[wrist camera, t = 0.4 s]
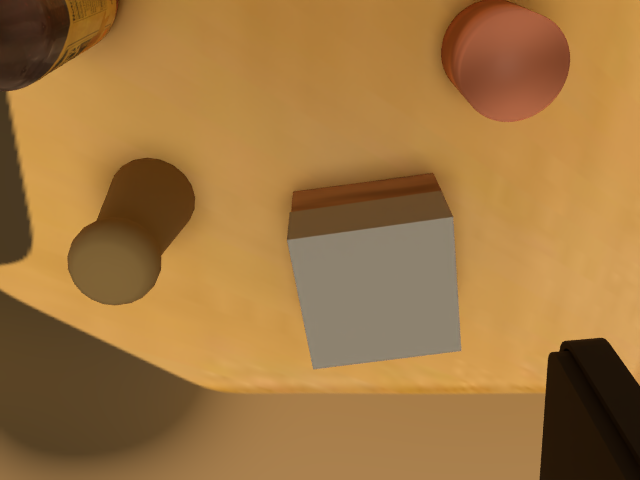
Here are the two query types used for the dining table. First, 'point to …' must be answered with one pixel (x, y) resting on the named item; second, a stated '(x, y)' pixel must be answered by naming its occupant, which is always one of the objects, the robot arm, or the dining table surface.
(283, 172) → the dining table surface
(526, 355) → the dining table surface
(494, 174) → the dining table surface
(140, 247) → the cork
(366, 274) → the tower top block
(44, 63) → the sauce bottle
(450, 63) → the reddish pink cylinder
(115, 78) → the dining table surface
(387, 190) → the tower bottom block
